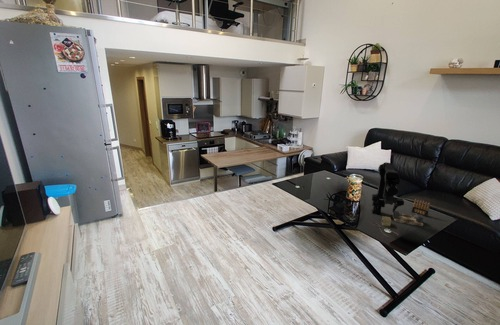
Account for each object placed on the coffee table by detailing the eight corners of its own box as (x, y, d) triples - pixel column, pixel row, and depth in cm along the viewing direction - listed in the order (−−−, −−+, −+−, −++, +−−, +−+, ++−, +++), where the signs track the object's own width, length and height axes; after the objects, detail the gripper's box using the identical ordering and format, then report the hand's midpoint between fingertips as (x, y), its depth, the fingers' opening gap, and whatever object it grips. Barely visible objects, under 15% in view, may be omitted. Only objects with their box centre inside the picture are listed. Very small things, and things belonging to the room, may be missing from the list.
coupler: (380, 221, 180) (381, 215, 179) (389, 223, 178) (390, 217, 177) (381, 225, 175) (383, 219, 174) (390, 226, 174) (391, 220, 172)
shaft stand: (394, 221, 181) (396, 214, 179) (392, 215, 190) (393, 209, 188) (422, 226, 175) (424, 219, 173) (418, 219, 184) (420, 213, 182)
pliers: (391, 238, 159) (364, 224, 175) (391, 239, 159) (364, 225, 175) (399, 234, 163) (372, 221, 180) (399, 235, 163) (372, 222, 180)
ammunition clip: (411, 212, 196) (414, 198, 193) (412, 211, 197) (415, 197, 194) (427, 217, 188) (430, 203, 185) (427, 216, 190) (431, 202, 186)
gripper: (374, 191, 157) (370, 213, 161) (407, 196, 150) (403, 219, 154) (373, 186, 167) (369, 206, 171) (404, 190, 160) (400, 211, 164)
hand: (385, 211), depth 165 cm, fingers open, 9 cm apart
